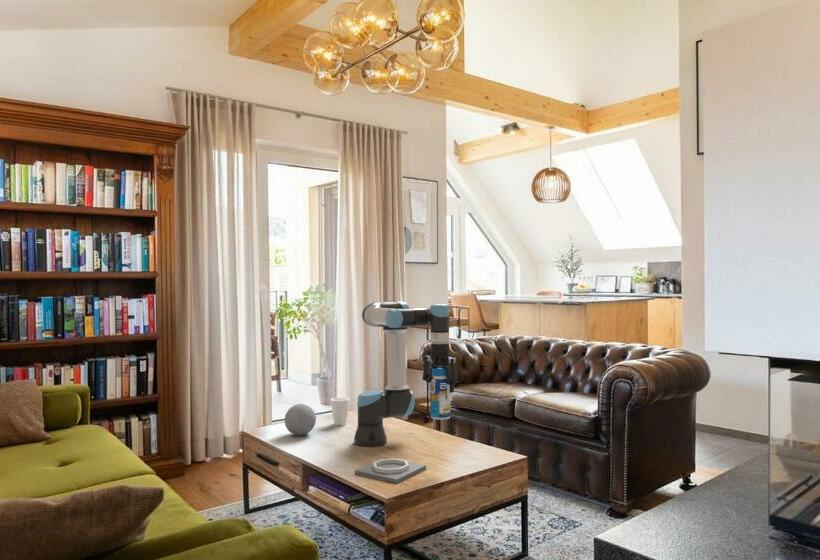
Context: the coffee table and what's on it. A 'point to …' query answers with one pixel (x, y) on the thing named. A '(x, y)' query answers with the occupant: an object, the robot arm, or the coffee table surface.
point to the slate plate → (393, 475)
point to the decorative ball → (300, 419)
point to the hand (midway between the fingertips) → (440, 399)
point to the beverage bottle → (439, 395)
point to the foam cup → (340, 410)
